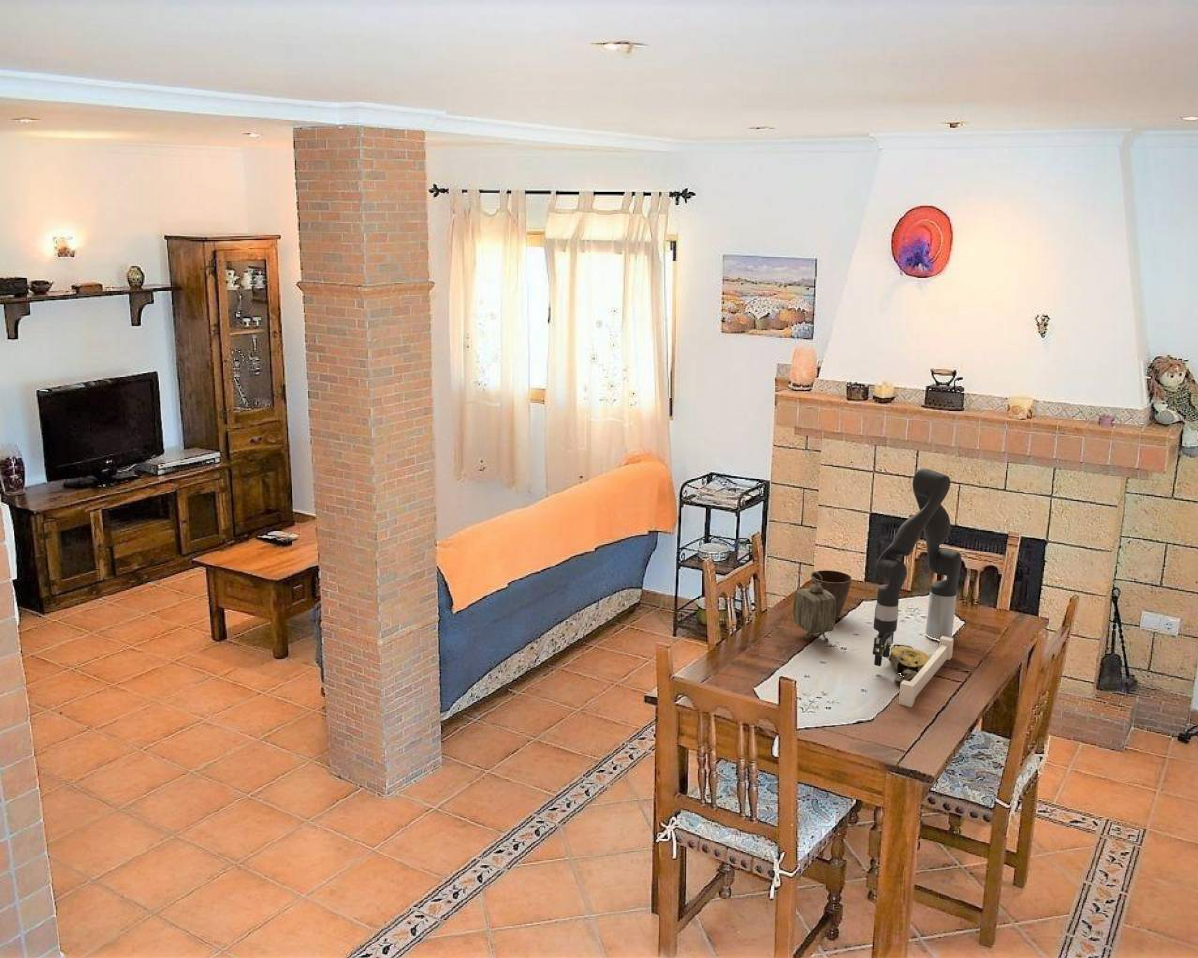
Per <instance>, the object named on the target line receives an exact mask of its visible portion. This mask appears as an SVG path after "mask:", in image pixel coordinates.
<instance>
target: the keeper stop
mask: <svg viewBox="0 0 1198 958" xmlns="http://www.w3.org/2000/svg"><path fill="white" fill-rule="evenodd" d="M954 641H955V638H954V637H952V638H950V637H945V636H942V637H941V638H940V641H938V642H939V644H938V649H937V650H936V651H935V652H934V653H933V655H932V656H930V659H929V661H928V662H927V663H926V664H925V665H924V666H923V667H922V669H921V670H920V671H919V672H918V673H917V674H916V676H915V677H914V678H913V679H912V680H911V681H905V680H903V681H902V682H901V684H900V685H899V686H900V687H899V695H898V705H902V706H905V707H909V708H912V707H913V706H914V705H915V698H916V697H917V696H918V695H919V694H920V692H921V691H922V690H924V689H923V688H925V686H926V685H927V684H928V682H929V681H930V680H931V679H932V677H934V675H935V674H936V673H937V671H939V669H940V668H941V667H942V666H943V664H944V663H945V662H946V661H947V660H948V661H951V659H952V658H953V649H954Z"/></svg>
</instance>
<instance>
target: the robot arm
mask: <svg viewBox="0 0 1198 958" xmlns="http://www.w3.org/2000/svg"><path fill="white" fill-rule="evenodd" d="M950 487H951V479H950V476H948V475H947V474H945V473H942V472H940V471H939V472H937V471H935V470H934V469H929V468H920V469H918V470H916V471H915V473H914V475H913V478H912V490H913V491H912V492H913V494H914V497H915V500H916V503H917V506H918V509H919V510H918V511H917V512H916V513H915V514H913V515H912V516H910V517H909V518H908V519H906V520H905V521H904V522H902V524H901V525H900V526H899V528H898V529H897V531H896V533H895V535H894V537H893V539H892V542H891V543H890V544H889V546H888V547H886V549H885V550H884V551H883V552H882V553H881V555H880V556H879V557H878V558H877V560H876V562H875V564H874V566H875V567H874V571H875V573H876V575H877V576H879V577H880V578H883V579H885V580H888V581H889V582H888V584H881V585H879V587H878V589H877V596H876V604H875V607H874V608H875V609H874V618H873V629H874V630H875V631H876V632H878V634H876V637H874V639H873V647H872V648H873V649H872V655H874V662H873V663H874V666H876V667H877V666H878V667H881V666H882V661H883V658H887V659H889V656H890V653H891V648H892V644H893V643H894V635H895V632H896V631H897V629H898V619H899V602H900V593H901V590H902V588H903V585H904V583H905V580H906V579H907V575H908V570H907V565H906V564H905V563H904V562H903V561H900V560H898V559H899V558H900V557H909V556H911V554H912V552H913V550H914V549H915V546H916V545H917V541H918V540H919V538H920V536H921V535H922V532H923V533H924V538H925V543H926V554H927V555H926V556H927V564H928V569H929V571H930V572H931V573H934V574H937V575H942V576H945V577H946V576H947V579H944V580H938V581H934V582H932V583H930V586H929V596H928V597H929V598H928V605H927V607H928V608H927V615H926V616H927V617H926V627H925V634H927V635H928V636H930V637H932V638H936V639H939V640H940V638H941V637H942V636H945V637H950V638H953V630H954V622H955V621H954V620H955V611H956V604H957V593H958V592H957V591H958V585H959V579H960V572H961V567H962V554H961V553H960V552H959V551H956V550H951V549H946V548H941V547H940V546H941V545H942V544H943V543H944V542H945V541H946V540H947V539H948V537H950V534H951V531H952V526H951V525H952V524H951V519H950V515H949V513H948V512H947V510H946V508H945V507H944V506H943V505H942V503H943V502H944V501H945V499H946V497H947V495H948V493H949V490H950Z"/></svg>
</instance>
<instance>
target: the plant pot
mask: <svg viewBox="0 0 1198 958" xmlns="http://www.w3.org/2000/svg"><path fill="white" fill-rule="evenodd" d="M815 572H818V573H819V574H820V575H821V576H822V579H823V582H822V584H820V585H821V586H822V588H823V589H824V590H826V591H828V592H829V593H831V594H832V595H833V596H834V598H835V601H836V617H835V620H836V619H838V618H839V617H840V615H841V613H842V610H843V608H844V606H845V604H846V600H847V598H848V595H849V591H850V588H851V583H852V576H851V575H849V574H848V573H845V572H841V571H837V570H815ZM813 579H814V580H818V583H821V578H820V576H819V575H818V574H816V573H814V574H813ZM812 584H815V582H813V580H812V579H811V585H812Z"/></svg>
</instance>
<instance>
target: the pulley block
mask: <svg viewBox="0 0 1198 958" xmlns="http://www.w3.org/2000/svg"><path fill="white" fill-rule="evenodd" d="M930 658H931V655H930V654H929V655H928V654H927V653H926V652H925V651H922V650H920V649H915V648H914V647H911V646H909V645H905V644H896V643H895V644H894V645H893V646H891V648H890V653H889V657H888V661H889V662H890V663H891V665H892V667H893V668H894V669H895V671H896V673H897V674H898V673H901V675H902V676H904V677H902V676H899V675H898V676H895V677H894V682H895V684H896V685H899V686H900V684H901V682H902V681H903V680H905V681H911V680H912V679H913V678H914V677H915V676H916V674H917V673H918V672H919V671H920V670H921V669H922V667H923V666H924V665H925V664H926V663H927V662H928V661H929V659H930Z"/></svg>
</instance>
